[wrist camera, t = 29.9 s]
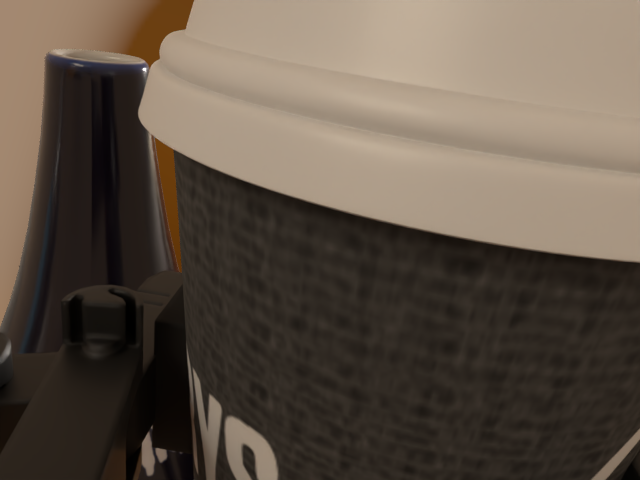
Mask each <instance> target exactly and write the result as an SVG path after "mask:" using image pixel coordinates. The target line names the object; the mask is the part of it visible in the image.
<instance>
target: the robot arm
mask: <svg viewBox="0 0 640 480" xmlns="http://www.w3.org/2000/svg"><path fill="white" fill-rule="evenodd" d="M61 316H62V335H63V344H62V346H61V348H60V349H59V351H58V352H49V353H27V354H12V348H11V340H10V339H9V338H8V337H7V336H6V335H5V334H4V333H2V332H0V480H138V477H139V473H140V469H141V465H142V443H143V441H144V439H145V437H146V435H147V434H148V432H149V430H150V428H151V427H152V447H153V448H159V449H165V450H170V451H176V452H181V453H187V454H192V453H193V450H192V431H191V414H190V396H189V379H188V362H187V345H186V328H185V311H184V295H183V279H182V273H180V272H174V271H168V270H164V271H162V272H159V273H157V274H155V275H153V276H151V277H149V278H147V279H146V280H145V281H144V282H143V284H142V285H141V286H140V287H139V288H138V289H137V291H134V290H132V289H129V288H127V287H122V286H116V285H95V286H90V287H85V288H81V289H78V290H76V291H74V292H71V293H69V294H68V295H67V296H66V297H64V298H63V299H62V300H61ZM621 480H640V450H639V452H638V453H637V455H636V456H635V458H634V459H633V461H632V462H631V464H630V465H629V467H628V469H627V470H626V472H625V474H624V476H623V477H622V479H621Z"/></svg>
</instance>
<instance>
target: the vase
mask: <svg viewBox="0 0 640 480" xmlns="http://www.w3.org/2000/svg"><path fill="white" fill-rule="evenodd" d="M148 74H149V67H148V64H147V63H146V62H145V61H144V60H142V59H140V58H138V57H134V56H129V55H124V54H118V53H111V52H102V51H93V50H79V49H56V50H52V51H50V52H48V53H47V54H46V56H45V72H44V96H43V97H44V98H43V110H42V125H41V137H40V145H39V153H38V161H37V169H36V178H35V184H34V191H33V197H32V204H31V210H30V217H29V223H28V229H27V233H26V238H25V242H24V247H23V252H22V257H21V261H20V266H19V270H18V274H17V278H16V281H15V285H14V288H13V292H12V295H11V299H10V302H9V304H8V307H7V310H6V313H5V315H4V318H3V321H2V324H1V326H0V332H2V333H4V334H5V335H6V336H7V337H8V338H9V339H10V340H11V348H12V354H27V353H49V352H58V351H59V349H60V348H61V346H62V344H63V335H62V316H61V300H62V299H63V298H64V297H66V296H67V295H68V294H69V293H71V292H74V291H76V290H78V289H81V288H85V287H90V286H95V285H116V286H122V287H127V288H129V289H132V290H134V291H137V289H138V288H139V287H140V286H141V285H142V284H143V282H144V281H145V280H146V279H147V278H149V277H151V276H153V275H155V274H157V273H159V272H162V271H164V270H168V271H174V272H179V269H178V265H177V261H176V257H175V252H174V248H173V243H172V239H171V235H170V231H169V226H168V221H167V215H166V209H165V203H164V198H163V192H162V186H161V180H160V173H159V166H158V160H157V153H156V146H155V138H154V136H153V135H152V134H151V133H150V132H149V131H148V130H147V129H146V128H145V127H144V126H143V125H142V123H141V121H140V119H139V116H138V110H139V106H140V103H141V100H142V97H143V93H144V89H145V85H146V81H147V78H148ZM138 480H194V468H193V453H192V454H187V453H181V452H176V451H170V450H165V449H159V448H153V447H152V427H151V428H150V430H149V432H148V434H147V435H146V437H145V439H144V441H143V443H142V465H141V469H140V473H139V477H138Z"/></svg>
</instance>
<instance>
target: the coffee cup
mask: <svg viewBox="0 0 640 480" xmlns="http://www.w3.org/2000/svg"><path fill="white" fill-rule="evenodd" d="M138 116H139V119H140V121H141V123H142V125H143V126H144V127H145V128H146V129H147V130H148V131H149V132H150V133H151V134H152V135H153V136H154V137H156V138H157V139H158V140H160V141H161V142H163V143H164V144H166V145H167V146H169V147H171V148H172V149H174V161H175V173H176V188H177V202H178V217H179V233H180V248H181V263H182V279H183V295H184V311H185V328H186V345H187V362H188V379H189V396H190V414H191V431H192V450H193V468H194V480H621V479H622V477H623V476H624V474H625V472H626V470H627V469H628V467H629V465H630V464H631V462H632V461H633V459H634V458H635V456H636V455H637V453H638V452H639V450H640V0H194V3H193V7H192V10H191V13H190V17H189V21H188V24H187V27H186V30H180V31H175V32H172V33H170V34H169V35H167V36H166V37H165V38H164V40H163V42H162V44H161V47H160V59H159V60H157V61H156V62H155V63H153V65H152V66H151V68H150V71H149V74H148V78H147V81H146V85H145V89H144V93H143V97H142V100H141V103H140V106H139V110H138Z"/></svg>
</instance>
